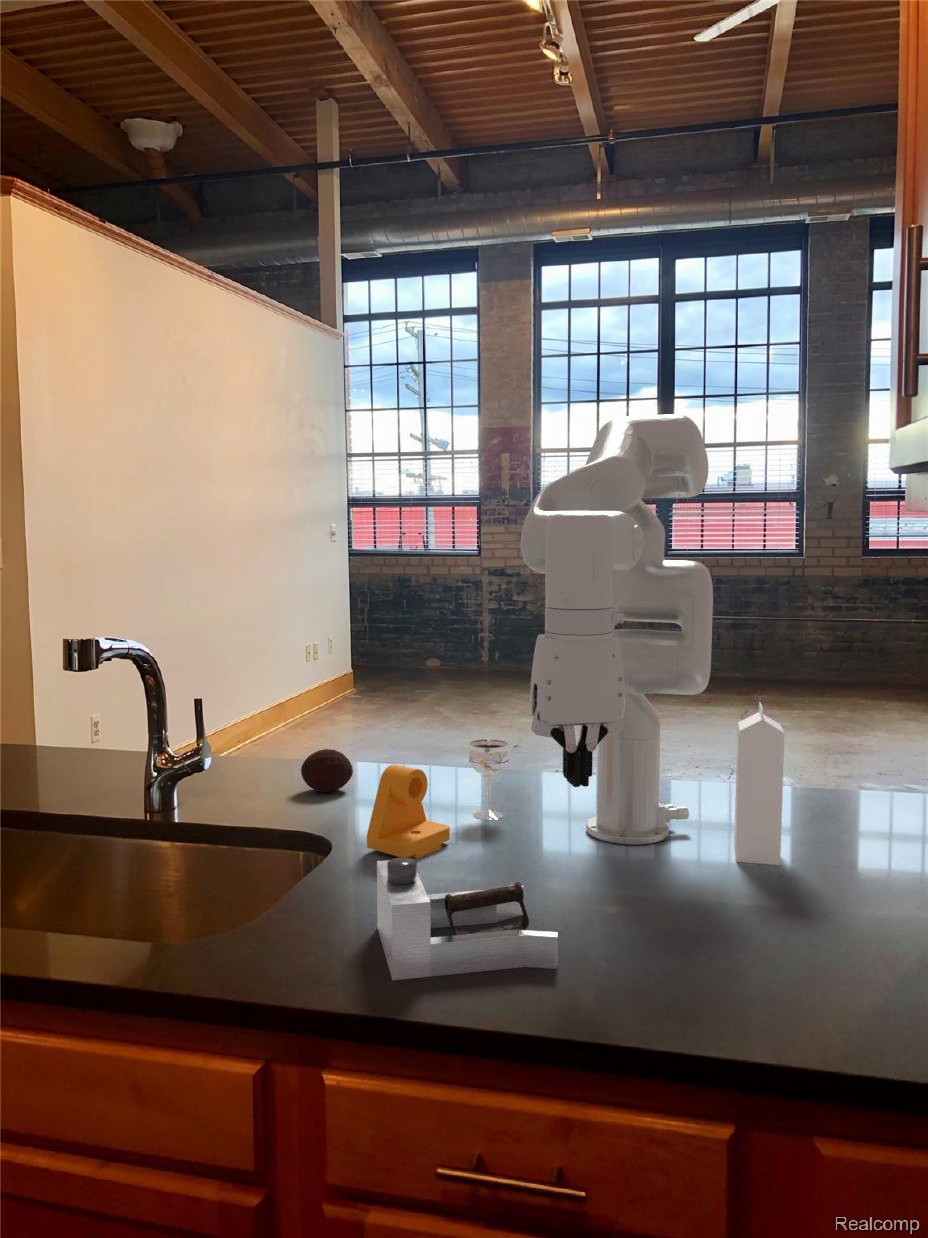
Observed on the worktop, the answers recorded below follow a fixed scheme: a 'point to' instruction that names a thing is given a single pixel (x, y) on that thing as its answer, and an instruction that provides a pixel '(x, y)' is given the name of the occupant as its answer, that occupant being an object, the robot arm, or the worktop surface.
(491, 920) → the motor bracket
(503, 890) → the clothes iron
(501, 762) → the wineglass
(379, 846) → the bracket
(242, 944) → the worktop surface
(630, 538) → the robot arm
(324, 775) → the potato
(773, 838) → the milk
